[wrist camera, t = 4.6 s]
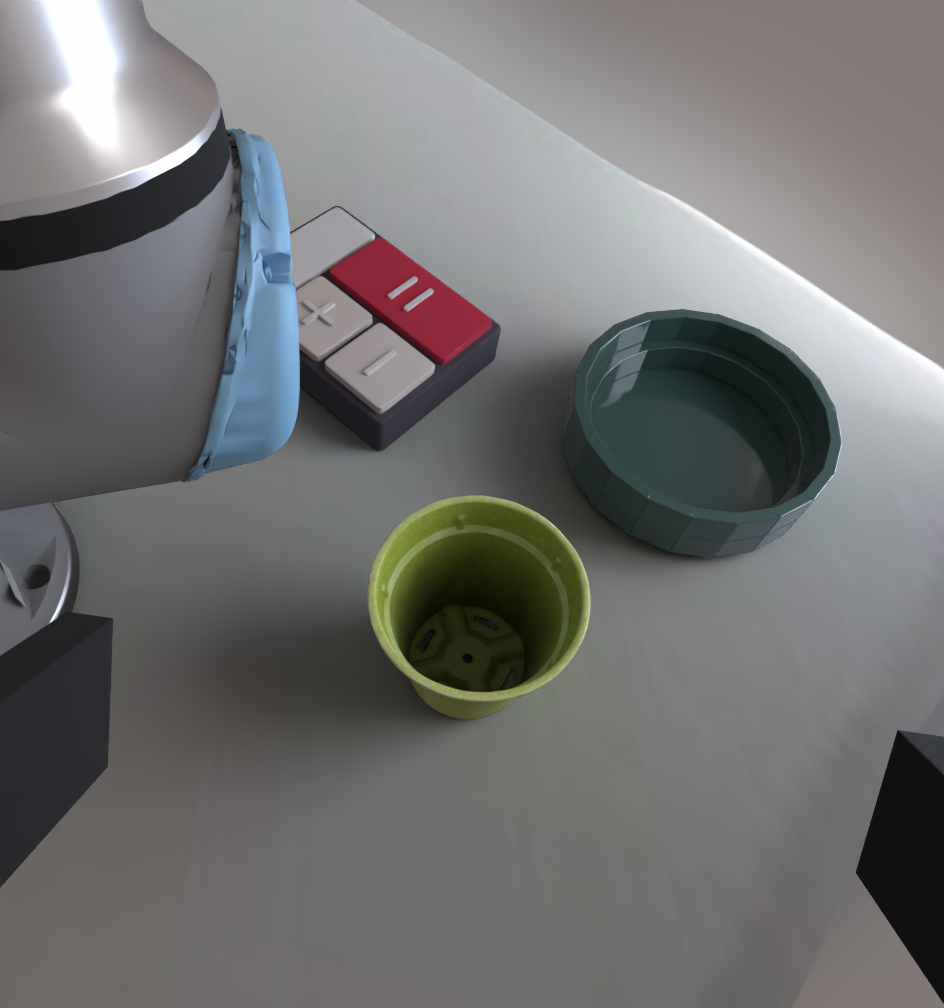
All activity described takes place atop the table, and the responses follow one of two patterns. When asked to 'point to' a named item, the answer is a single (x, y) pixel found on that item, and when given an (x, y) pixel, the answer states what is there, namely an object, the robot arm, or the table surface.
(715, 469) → the bowl
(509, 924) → the table surface
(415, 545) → the plant pot
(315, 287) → the calculator
